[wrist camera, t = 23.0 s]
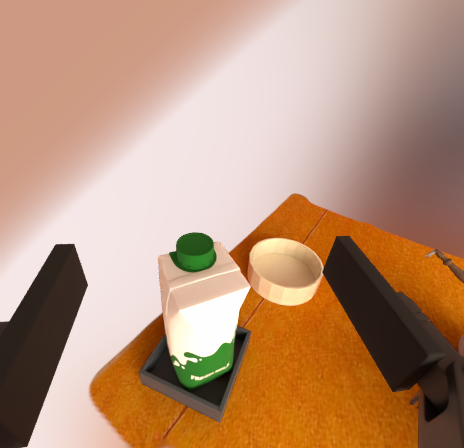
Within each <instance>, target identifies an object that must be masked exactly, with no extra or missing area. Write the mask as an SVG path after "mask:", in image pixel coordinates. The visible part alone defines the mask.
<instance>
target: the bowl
mask: <svg viewBox="0 0 464 448" xmlns="http://www.w3.org/2000/svg"><path fill="white" fill-rule="evenodd" d="M323 269H324V268H323V265H322V262H321V260H320V258H319V257H318V256H317V254H316V253H315V252H314V251H312V250H311V249H310V248H309V247H307V246H305V245H303V244H301V243H299V242H297V241H294V240H290V239H285V238H270V239H265V240H263V241H260V242H258V243H257V244H256V245H255V246H253V248H252V250H251V252H250V255H249V261H248V267H247V277H248V280H249V283H250V285H251V286H252V288H253V289H254V290H255V291H256V292H257V293H258V294H259V295H260V296H262V297H263V298H265V299H267V300H269V301H271V302H273V303H277V304H281V305H299V304H303V303H305V302H307V301H309V300H310V299H311V298H312V297H313V296H314V295H315V293H316V291H317V289H318V287H319V284H320V282H321V279H322V277H323V273H322V271H323Z"/></svg>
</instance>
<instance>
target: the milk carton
mask: <svg viewBox="0 0 464 448" xmlns="http://www.w3.org/2000/svg"><path fill="white" fill-rule="evenodd" d="M158 263H159V279H160V287H161V300H162V310H163V320H164V329H165V337H166V343H167V347H168V351H169V354H170V358H171V361H172V363H173V366H174V369H175V371H176V373H177V376H178V378H179V381H180V383H181V385H182V388H183V389H184V390H186V391H188V392H191V391H193V390H195V389H198V388H200V387H202V386H204V385H206V384H208V383H210V382H212V381H214V380H216V379H218V378H221V377H223V376H225V375H227V374H229V373H231V372H233V356H234V341H235V335H236V328H237V322H238V315H239V309H240V307H241V305H242V303H243V301H244V299H245V297H246V295H247V293H248V291H249V289H250V287H251V286H250V285H249V283H248V282H247V280H246V279H245V277H244V276H243V275H242V273H241V271H240V268H239V267H238V265H237V264H236V263H235V262H234V260H233V259H232V258H231V256H230V255H229V254H228V252H227V251H226V249H225V248H224V247H223V245H222V244H221V243H220V242H215V243H214V242H213V240H212V239H211V238H210V237H209V236H207V235H205V234H203V233H188V234H185V235H183V236H181V237H180V238H179V239H178V241H177V244H176V251H175V252H170V253H169V254H166V255H161V256H159V257H158Z"/></svg>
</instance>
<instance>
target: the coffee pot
mask: <svg viewBox="0 0 464 448" xmlns="http://www.w3.org/2000/svg"><path fill="white" fill-rule="evenodd" d="M432 252H433V253H432ZM431 253H432V254H431ZM434 253H435V254H436V255H437V257H439V258H441V260H443V264H444V265H447V266H448V267H449V268H450V269H451V271H452V272H453V273H454V274H455V276H456V277H457V278H458V279H459V280H460V281H462V282H463V283H464V271H463V270H461V269H460V268H459V267H457V266H456V265H455V264H453V263H452V259H448V258H446V257H445V255H444V254H443V253H442V252H441V251H439V250H438V249H435V250H433V251H431V252H430V253H428V254H427V255H426V256H425V257H426V258H427V257H430V256H431V255H433V254H434ZM429 254H430V255H429ZM428 255H429V256H428ZM458 352H459V354H460V355H461V356H462V357H464V335H463V336H462V337H461V338H460V340H459V345H458Z"/></svg>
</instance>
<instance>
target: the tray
mask: <svg viewBox="0 0 464 448" xmlns="http://www.w3.org/2000/svg"><path fill="white" fill-rule="evenodd" d="M250 335H251V331H249V330H247V329H244V328H242V327H239V326H237V328H236V335H235V341H234V356H233V372H231V373H229V374H227V375H225V376H223V377H221V378H218V379H216V380H214V381H212V382H210V383H208V384H206V385H204V386H202V387H200V388H198V389H195V390H193V391H191V392H188V391H186V390H184V389H183V388H182V385H181V383H180V381H179V378H178V376H177V373H176V371H175V369H174V366H173V363H172V361H171V358H170V354H169V351H168V347H167V343H166V337H165V334H164V336H163V337H162V339H161V340H160V342H159V343H158V345H157V346H156V348H155V349H154V351H153V352H152V354H151V355H150V357H149V358H148V360H147V361H146V363H145V364H144V366H143V367H142V369H141V370H140V372H139V375H140V379H141V383H142V384H144V385H146V386H148V387H150V388H152V389H154V390H156V391H158V392H160V393H162V394H164V395H166V396H168V397H170V398H172V399H174V400H176V401H178V402H180V403H182V404H184V405H186V406H188V407H190V408H192V409H194V410H196V411H198V412H200V413H202V414H204V415H206V416H208V417H210V418H212V419H214V420H216V421H218V422H221V419H222V416H223V414H224V411H225V408H226V405H227V402H228V400H229V397H230V394H231V391H232V388H233V386H234V383H235V380H236V377H237V374H238V372H239V369H240V366H241V363H242V360H243V358H244V355H245V352H246V349H247V346H248V344H249V340H250Z"/></svg>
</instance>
